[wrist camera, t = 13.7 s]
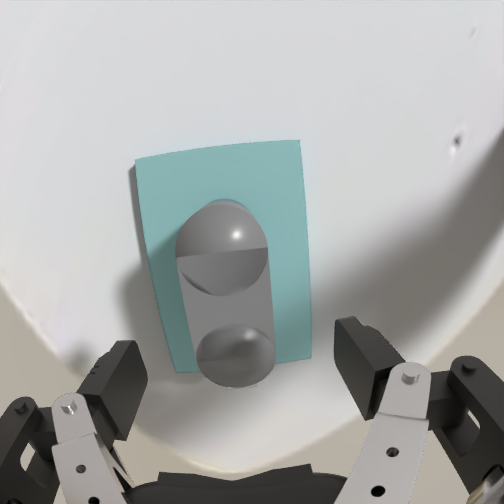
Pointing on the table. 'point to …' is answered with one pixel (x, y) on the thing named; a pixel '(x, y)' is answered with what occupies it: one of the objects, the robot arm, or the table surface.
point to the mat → (263, 210)
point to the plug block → (227, 293)
